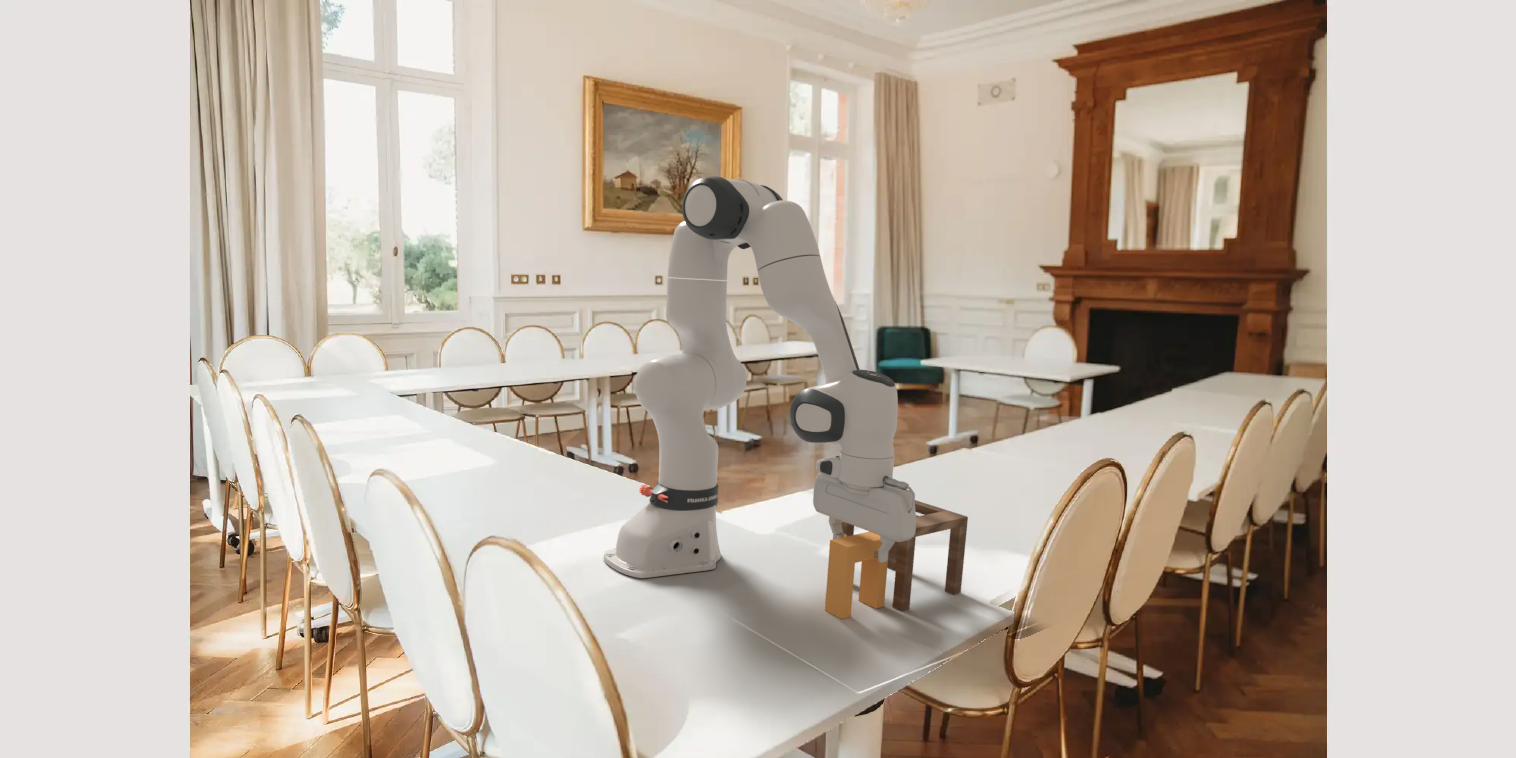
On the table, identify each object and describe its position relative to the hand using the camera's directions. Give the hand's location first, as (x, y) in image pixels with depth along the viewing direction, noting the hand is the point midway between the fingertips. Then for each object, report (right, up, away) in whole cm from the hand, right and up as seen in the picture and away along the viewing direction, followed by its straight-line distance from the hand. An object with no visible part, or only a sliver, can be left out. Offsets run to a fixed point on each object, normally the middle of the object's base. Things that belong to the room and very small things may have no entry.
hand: (859, 552), depth 136 cm
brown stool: (+8, -9, +12) cm, 17 cm away
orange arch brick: (-1, -10, +1) cm, 10 cm away
